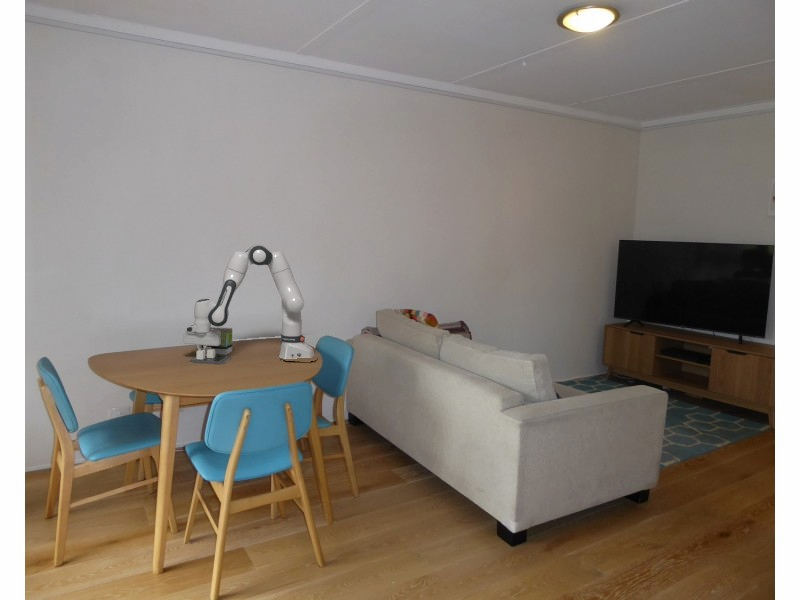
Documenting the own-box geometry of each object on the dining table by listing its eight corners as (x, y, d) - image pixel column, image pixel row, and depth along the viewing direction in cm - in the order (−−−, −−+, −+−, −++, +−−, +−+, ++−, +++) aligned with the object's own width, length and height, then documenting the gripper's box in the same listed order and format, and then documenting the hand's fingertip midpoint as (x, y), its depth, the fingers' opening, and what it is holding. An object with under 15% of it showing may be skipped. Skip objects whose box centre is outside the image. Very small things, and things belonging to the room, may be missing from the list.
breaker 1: (205, 358, 304) (205, 350, 303) (202, 359, 301) (202, 351, 300) (198, 357, 304) (198, 349, 303) (196, 359, 301) (196, 351, 300)
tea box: (232, 352, 330) (233, 327, 328) (225, 355, 320) (226, 330, 318) (208, 350, 331) (208, 325, 330) (200, 353, 321) (201, 328, 320)
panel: (231, 358, 313) (231, 356, 313) (222, 364, 299) (222, 361, 299) (200, 356, 314) (200, 354, 314) (189, 362, 300) (189, 359, 300)
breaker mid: (215, 357, 308) (215, 349, 307) (213, 358, 305) (213, 350, 304) (209, 356, 308) (209, 348, 307) (206, 357, 305) (207, 349, 304)
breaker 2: (211, 354, 312) (211, 347, 312) (209, 355, 309) (209, 348, 309) (205, 354, 313) (205, 346, 312) (203, 355, 310) (203, 347, 309)
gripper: (222, 328, 307) (222, 352, 309) (186, 326, 308) (186, 350, 310) (218, 330, 301) (218, 355, 303) (182, 327, 302) (181, 352, 304)
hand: (202, 352), depth 306 cm, fingers closed
